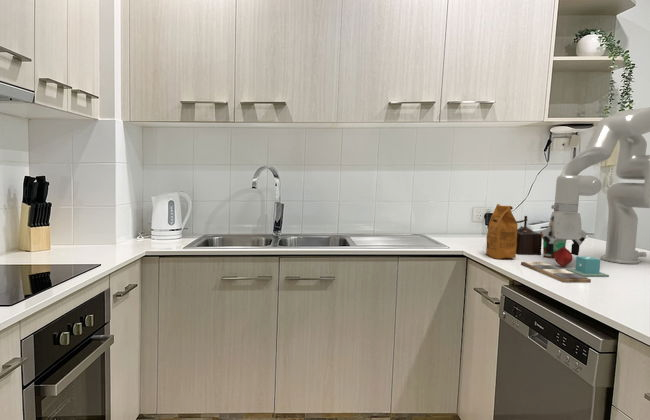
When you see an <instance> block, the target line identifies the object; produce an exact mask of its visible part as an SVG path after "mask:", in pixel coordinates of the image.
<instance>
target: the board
mask: <svg viewBox="0 0 650 420" xmlns="http://www.w3.org/2000/svg"><path fill="white" fill-rule="evenodd" d="M520 265H521V266H523V267H526V268H529V269H531V270H533V271H535V272H537V273H540V274H542V275H545V276H547V277H550V278H552V279H555V280H557V281H558V282H562V283H591V282H592V279H591V278H590V277H584V276H581V275H578V274H575V273H573V272H570V271H567V270H566V269H565V268H564V269H563V267H559V266H556V265H553V264H550V263H548V262H545V261H521V262H520Z"/></svg>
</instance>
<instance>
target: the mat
mask: <svg viewBox="0 0 650 420" xmlns="http://www.w3.org/2000/svg"><path fill="white" fill-rule="evenodd" d="M565 270H567V271H570V272H573V273H575V274H578V275H581V276H584V277H586V278H609V277H610V275H609V274H607V273H605V272H604V273H603V272H601V271H600V272H599V274H584V273H582V272H579V271H576V270H575V268H565Z"/></svg>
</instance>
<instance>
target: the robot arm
mask: <svg viewBox="0 0 650 420" xmlns="http://www.w3.org/2000/svg"><path fill="white" fill-rule="evenodd" d="M648 133H650V107H643V108H642V107H641V108H635V109H628V110H627V109H626V110H622V111H619V112H615V113H613V114H612V115H610V116H606V117H603V118H602V119H600V120H599V121H598V123H597V124H596V127H595V129H594V131H593V133H592V135H591V137H590V140H589V141H588V143H587V146H586V147H585V149H584V150H583V151H581V152H579V154H577V155H576V156H574V157H573V158H572V159H571V160H569V162H567V163H566V165H565V166H564V168H563V170H562V171H561V174H560V175H558V176H557V178H556V185H555V196H554V204H552V205H551V209H553V211H552V213H551V214H550V218H549V223H548V227H546V228H544V229H542V230H540V232H539V233H540V234H541V236H542V238H543V239H542V241H543V240H544V241H545V243H546V253H547V254H550V255H552V254H553V248H554V244H552V243H553V242H554V241H555V240H556V239H561V240H566V241H572V242H573V243H571V249H570V252H571V254H572V256H573V255H574V256H579V253H580V246H581V245H582V243H583V242H584V241H585V240H586V238H587V236H588V232H587V231H584V230H583V229H582V218H581V213H579V204H580V203H579V202H580V200H579V199H580V196H584V197H591V196H595V195H597V194H598V193H599V192H600V191H601V190H602V185H603V184H602V181H601V179H599V177H596V176H594V175H580V174H581V173H582V172H583V171H585V170H586V169H588V168H589V167H592V166H595V165H597V164H600V163H602V162H605V161H607V160H608V159H610V157H612V154H613V152H614V149H615V147H616V145H617V144H618V142H619V149H618V150H619V151H618V154H617V155H618V156H617V163H616V167H615V168H616V169H615V175H616V176H617V178H619V179H621V180H629V181H631V180H632V181H635V180H636V181H642V180H643V181H644V182H617V183H614V184H612V185H610V186H609V187H608V189H607V190H606V199H607V207H608V213H607V214H608V215H607V216H608V218H607V230H606V240H605V241H606V242H605V243H606V244H605V254H601V255H600V260H603V261H607V262H611V263H616V264H625V265H626V264H628V265H630V264H631V265H633V264H635V265H636V264H639V263H640V262H641V261H640V259H638V258H639V257H640V258H646V257H647V255H648V254H647V252H645V251H640V252H639V251H638V250H636V246H637V235H638V233H637V232H638V224H639V221H638V220H639V219H638V215H637V212H636V211H635V209H634V208H639V209H640V208H641V209H650V154H647V145H648V144H647V140H646V139H645V137H644V136H643V135H644V134H648ZM546 234H548V236H549V237H547V236H546Z"/></svg>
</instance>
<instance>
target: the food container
mask: <svg viewBox="0 0 650 420" xmlns="http://www.w3.org/2000/svg"><path fill="white" fill-rule="evenodd" d="M546 236H547V237H549V236H548V233H547V234H546ZM542 241H543V242H542V245H543V246H542V247H543V248H542V250H543V251H542V256H543V258H546V259H552V260H553V259H554V255H555V253H556V252H557V251H558V250H559V249H561V248H562V247H563V246H566V244H567V240H561V239H556V240H555V241H554V242H553V243H552V244H554V248H553V254H552V255H550V254H547V253H546V243H545V241H544V240H543V238H542ZM566 247H567V246H566ZM554 260H555V259H554Z"/></svg>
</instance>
